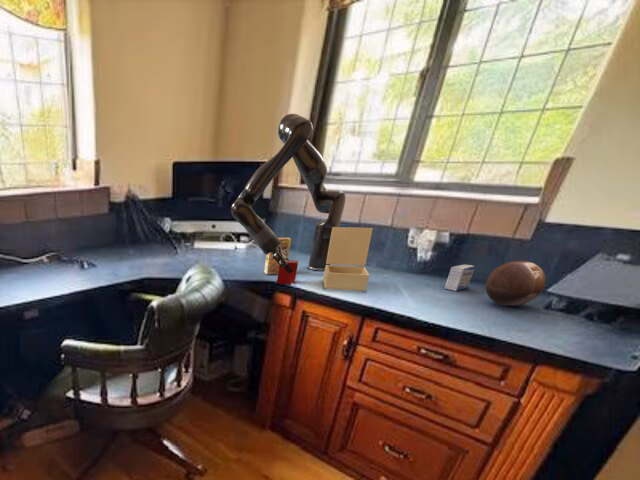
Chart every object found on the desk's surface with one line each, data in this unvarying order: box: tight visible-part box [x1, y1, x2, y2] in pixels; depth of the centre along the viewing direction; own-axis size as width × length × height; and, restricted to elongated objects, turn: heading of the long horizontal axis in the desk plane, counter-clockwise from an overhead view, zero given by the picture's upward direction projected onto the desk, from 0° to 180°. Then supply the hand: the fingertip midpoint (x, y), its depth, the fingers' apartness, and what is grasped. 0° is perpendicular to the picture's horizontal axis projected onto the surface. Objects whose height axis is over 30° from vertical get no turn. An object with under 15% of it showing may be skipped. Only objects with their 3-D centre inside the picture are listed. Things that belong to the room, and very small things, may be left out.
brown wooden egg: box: [485, 260, 547, 307], centre depth 143 cm, size 15×15×15 cm
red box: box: [276, 259, 299, 286], centre depth 174 cm, size 4×7×9 cm, turn 71°
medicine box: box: [444, 264, 476, 292], centre depth 162 cm, size 8×4×9 cm, turn 117°
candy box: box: [263, 237, 292, 275], centre depth 186 cm, size 9×4×15 cm, turn 92°
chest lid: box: [326, 226, 374, 267], centre depth 172 cm, size 14×15×5 cm
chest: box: [322, 264, 370, 292], centre depth 168 cm, size 14×15×7 cm
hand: (291, 269), depth 173 cm, fingers open, 8 cm apart
